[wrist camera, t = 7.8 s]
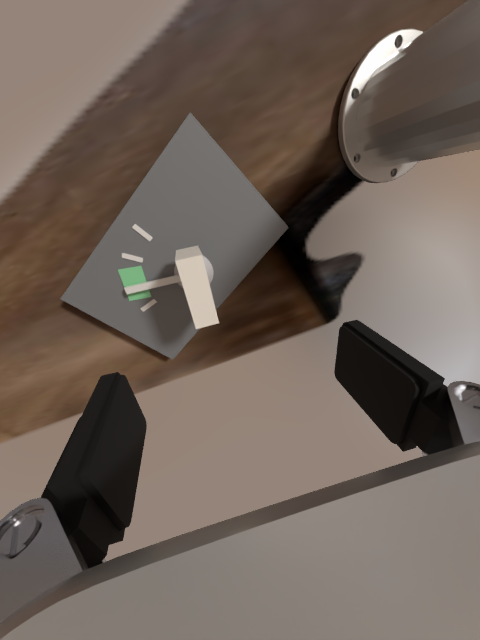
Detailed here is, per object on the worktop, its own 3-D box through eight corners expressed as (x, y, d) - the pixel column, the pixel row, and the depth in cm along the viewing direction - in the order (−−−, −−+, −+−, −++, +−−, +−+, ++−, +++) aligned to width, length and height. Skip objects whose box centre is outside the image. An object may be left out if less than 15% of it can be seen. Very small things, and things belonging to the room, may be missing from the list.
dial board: (189, 119, 22) (190, 111, 20) (281, 226, 28) (289, 227, 26) (68, 292, 26) (59, 299, 24) (173, 351, 32) (172, 360, 30)
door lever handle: (113, 260, 23) (90, 279, 17) (196, 242, 24) (202, 254, 18) (137, 315, 26) (125, 348, 20) (210, 297, 27) (219, 323, 21)
